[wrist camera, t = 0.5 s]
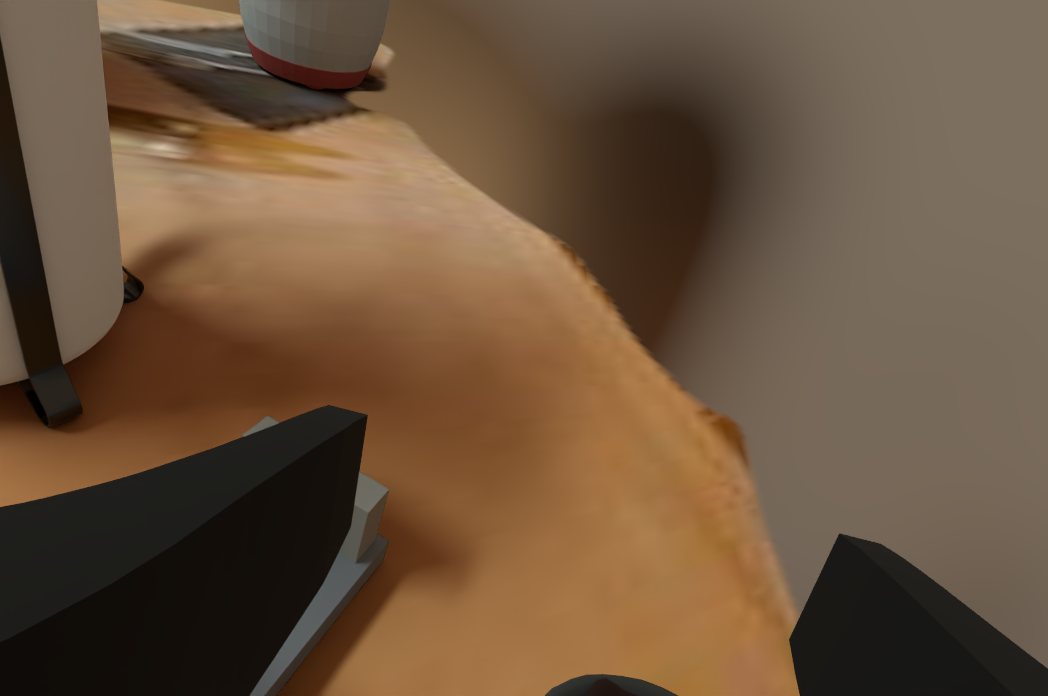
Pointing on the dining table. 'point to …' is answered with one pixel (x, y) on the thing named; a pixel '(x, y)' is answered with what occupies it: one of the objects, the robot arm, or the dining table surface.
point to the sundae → (607, 687)
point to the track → (332, 580)
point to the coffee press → (55, 201)
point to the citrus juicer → (315, 38)
